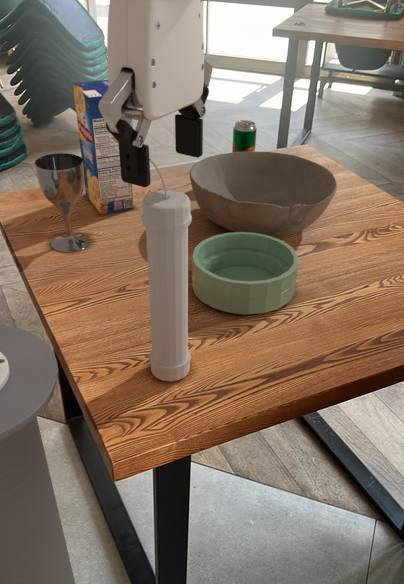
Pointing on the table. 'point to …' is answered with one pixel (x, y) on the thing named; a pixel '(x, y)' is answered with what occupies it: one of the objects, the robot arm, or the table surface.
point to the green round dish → (244, 272)
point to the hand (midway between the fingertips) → (163, 168)
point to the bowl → (262, 191)
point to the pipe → (168, 280)
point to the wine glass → (63, 193)
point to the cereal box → (99, 151)
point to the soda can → (244, 136)
